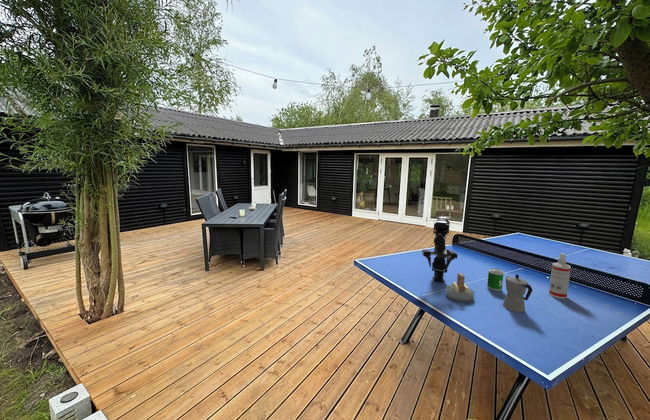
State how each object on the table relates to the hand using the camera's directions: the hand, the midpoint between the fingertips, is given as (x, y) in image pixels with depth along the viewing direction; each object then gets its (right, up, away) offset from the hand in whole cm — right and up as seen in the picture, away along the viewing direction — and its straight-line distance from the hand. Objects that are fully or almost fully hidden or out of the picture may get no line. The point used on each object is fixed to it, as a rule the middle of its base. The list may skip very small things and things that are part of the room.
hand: (438, 267), depth 154 cm
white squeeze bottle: (+65, -15, -7) cm, 67 cm away
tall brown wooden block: (+8, -10, -10) cm, 16 cm away
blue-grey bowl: (+8, -14, -9) cm, 19 cm away
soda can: (+34, -13, +1) cm, 37 cm away
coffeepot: (+30, -16, -22) cm, 41 cm away
